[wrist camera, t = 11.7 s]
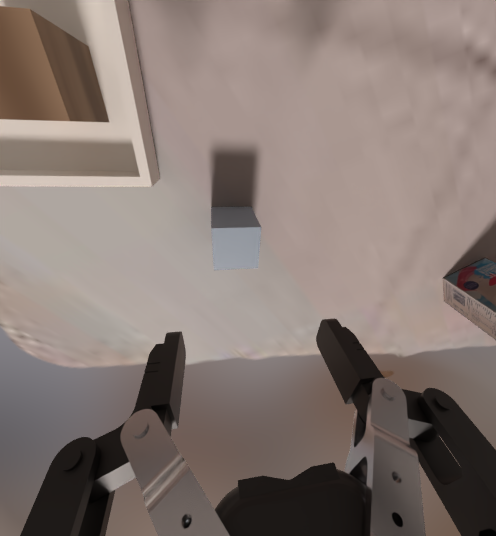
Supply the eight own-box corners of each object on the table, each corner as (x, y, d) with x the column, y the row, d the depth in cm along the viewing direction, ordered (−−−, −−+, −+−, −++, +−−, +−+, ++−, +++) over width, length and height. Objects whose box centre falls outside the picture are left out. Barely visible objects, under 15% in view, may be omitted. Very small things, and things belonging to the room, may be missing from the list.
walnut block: (88, 46, 15) (29, 8, 10) (109, 122, 18) (70, 121, 13) (17, 41, 15) (-81, -2, 10) (49, 120, 17) (-17, 118, 12)
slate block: (211, 206, 24) (211, 228, 19) (251, 206, 25) (261, 227, 20) (213, 243, 26) (214, 270, 21) (249, 241, 27) (258, 268, 22)
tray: (-227, -92, 12) (-371, -163, 9) (120, -42, 14) (96, -86, 11) (-46, 176, 19) (-92, 185, 16) (159, 178, 22) (152, 186, 19)
